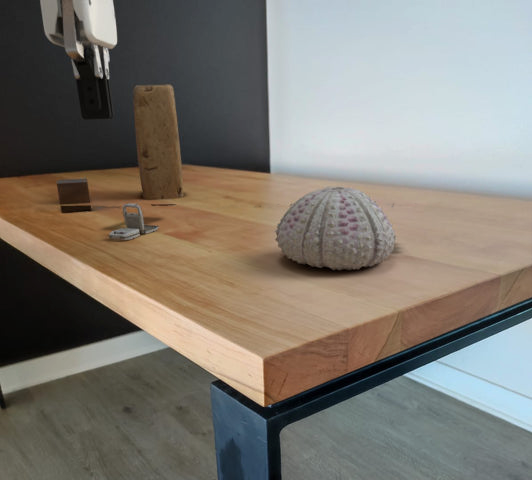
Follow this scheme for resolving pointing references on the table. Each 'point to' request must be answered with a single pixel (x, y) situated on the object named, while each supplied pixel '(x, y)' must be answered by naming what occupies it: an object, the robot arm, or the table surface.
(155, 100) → the block
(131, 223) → the strap clip
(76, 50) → the robot arm
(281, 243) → the sea urchin shell
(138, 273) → the table surface
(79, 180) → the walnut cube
